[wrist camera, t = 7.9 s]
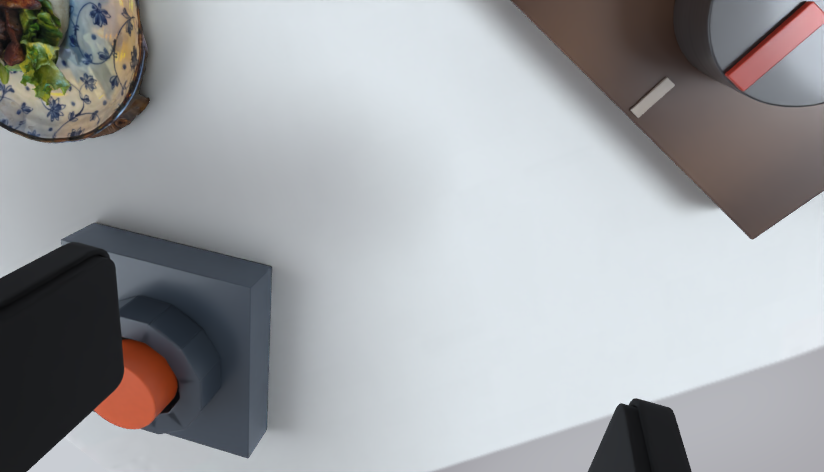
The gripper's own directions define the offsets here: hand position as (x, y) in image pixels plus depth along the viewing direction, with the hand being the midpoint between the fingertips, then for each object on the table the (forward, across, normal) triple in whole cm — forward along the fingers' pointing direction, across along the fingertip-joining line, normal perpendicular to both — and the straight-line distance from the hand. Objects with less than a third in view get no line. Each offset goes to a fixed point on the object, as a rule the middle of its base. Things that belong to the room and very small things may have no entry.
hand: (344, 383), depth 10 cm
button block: (+14, +13, +13) cm, 23 cm away
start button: (+11, +13, +13) cm, 21 cm away
